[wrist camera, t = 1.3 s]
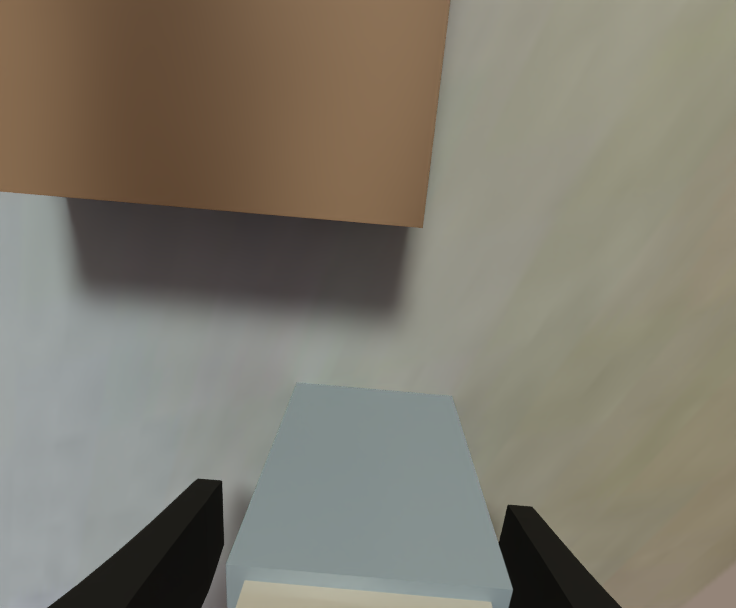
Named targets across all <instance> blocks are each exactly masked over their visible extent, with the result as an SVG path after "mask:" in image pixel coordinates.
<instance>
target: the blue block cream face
mask: <svg viewBox="0 0 736 608" xmlns="http://www.w3.org/2000/svg"><path fill="white" fill-rule="evenodd" d="M226 589H227V608H509V604H510V600H511V596H512V592H513V588H512V585H511V582H510V579H509V575H508V572H507V569H506V566H505V563H504V560H503V556H502V553H501V550H500V547H499V544H498V541H497V537H496V534H495V531H494V528H493V525H492V522H491V518H490V515H489V512H488V509H487V506H486V503H485V499H484V496H483V493H482V490H481V487H480V484H479V480H478V477H477V474H476V471H475V468H474V465H473V461H472V458H471V455H470V452H469V449H468V446H467V442H466V439H465V436H464V433H463V430H462V427H461V423H460V420H459V417H458V414H457V411H456V408H455V404H454V401H453V398H452V396H445V395H433V394H422V393H411V392H399V391H388V390H376V389H365V388H353V387H342V386H330V385H319V384H307V383H297V384H296V386H295V389H294V391H293V394H292V396H291V399H290V401H289V404H288V407H287V409H286V412H285V414H284V417H283V419H282V422H281V424H280V427H279V430H278V432H277V435H276V437H275V440H274V442H273V445H272V448H271V450H270V453H269V455H268V458H267V460H266V463H265V465H264V468H263V471H262V473H261V476H260V478H259V481H258V483H257V486H256V488H255V491H254V494H253V496H252V499H251V501H250V504H249V506H248V509H247V512H246V514H245V517H244V519H243V522H242V524H241V527H240V529H239V532H238V535H237V537H236V540H235V542H234V545H233V547H232V550H231V552H230V555H229V558H228V560H227V563H226Z"/></svg>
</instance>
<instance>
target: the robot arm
mask: <svg viewBox="0 0 736 608" xmlns="http://www.w3.org/2000/svg"><path fill="white" fill-rule="evenodd" d="M223 546H224V527H223V494H222V481H220V480H208V479H197V480H196V481H194V482H193V483H192V484H191V485H190V486H189V487H188V488H187V489H186V490H185V491H184V492H182V493H181V494H180V495H179V496H178V497H177V498H176V499H175V500H174V501H173V502H172V503H171V504H170V505H169V506H168V507H167V508H166V509H164V510H163V511H162V512H161V513H160V514H159V515H158V516H157V517H156V518H155V519H154V520H153V521H151V522H150V523H149V524H148V525H147V526H146V527H145V528H144V529H143V530H141V531H140V532H139V533H138V534H137V535H136V536H135V537H134V538H132V539H131V540H130V541H129V542H128V543H127V544H126V545H125V546H123V547H122V548H121V549H120V550H119V551H118V552H116V553H115V554H114V555H113V556H112V557H110V558H109V559H108V560H107V561H106V562H104V563H103V564H102V565H101V566H100V567H98V568H97V569H96V570H95V571H94V572H92V573H91V574H90V575H89V576H87V577H86V578H85V579H84V580H83V581H81V582H80V583H79V584H78V585H76V586H75V587H74V588H72V589H71V590H70V591H69V592H67V593H66V594H65V595H63V596H62V597H61V598H60V599H58V600H57V601H56V602H54V603H53V604H52V605H50V606H49V607H48V608H201V607H202V605H203V603H204V600H205V598H206V596H207V593H208V591H209V589H210V586H211V583H212V580H213V577H214V574H215V571H216V568H217V565H218V562H219V558H220V555H221V552H222V549H223ZM499 547H500V550H501V553H502V556H503V560H504V563H505V566H506V569H507V572H508V575H509V579H510V582H511V585H512V588H513V592H512V596H511V600H510V604H509V608H621V606H620V605H619V604H618V603H617V602H616V601H615V600H614V599H613V598H612V597H611V596H610V595H609V594H608V593H607V592H606V591H605V589H604V588H603V587H602V586H601V585H600V584H599V583H598V582H597V581H596V580H595V578H594V577H593V576H592V575H591V574H590V573H589V572H588V571H587V570H586V568H585V567H584V566H583V565H582V564H581V563H580V562H579V561H578V559H577V558H576V557H575V556H574V555H573V554H572V553H571V551H570V550H569V549H568V548H567V547H566V546H565V544H564V543H563V542H562V541H561V540H560V539H559V537H558V536H557V535H556V534H555V533H554V532H553V530H552V529H551V528H550V527H549V526H548V525H547V523H546V522H545V521H544V520H543V519H542V518H541V516H540V515H539V514H538V513H537V512H536V511H535V510H534V508H533V507H529V506H518V505H508V506H507V510H506V515H505V519H504V523H503V528H502V532H501V536H500V541H499Z"/></svg>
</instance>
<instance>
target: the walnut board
mask: <svg viewBox="0 0 736 608" xmlns="http://www.w3.org/2000/svg"><path fill="white" fill-rule="evenodd" d="M449 7H450V0H0V191H1V192H13V193H25V194H36V195H48V196H59V197H71V198H82V199H94V200H106V201H117V202H129V203H140V204H152V205H163V206H175V207H186V208H198V209H210V210H221V211H233V212H244V213H256V214H267V215H279V216H291V217H302V218H314V219H325V220H337V221H348V222H360V223H371V224H383V225H395V226H406V227H418V228H423V221H424V212H425V204H426V196H427V188H428V179H429V171H430V163H431V155H432V146H433V138H434V130H435V122H436V114H437V105H438V97H439V89H440V81H441V72H442V64H443V56H444V48H445V39H446V31H447V23H448V15H449Z"/></svg>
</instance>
